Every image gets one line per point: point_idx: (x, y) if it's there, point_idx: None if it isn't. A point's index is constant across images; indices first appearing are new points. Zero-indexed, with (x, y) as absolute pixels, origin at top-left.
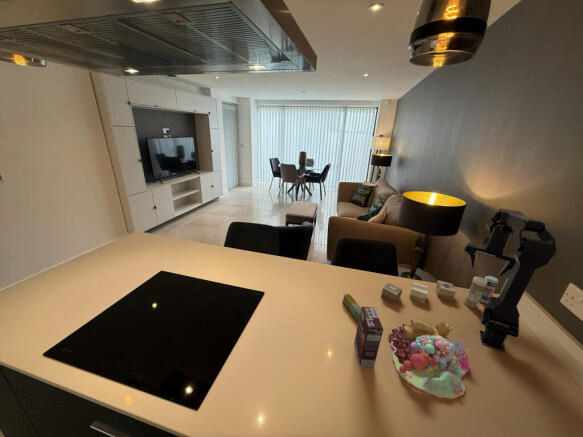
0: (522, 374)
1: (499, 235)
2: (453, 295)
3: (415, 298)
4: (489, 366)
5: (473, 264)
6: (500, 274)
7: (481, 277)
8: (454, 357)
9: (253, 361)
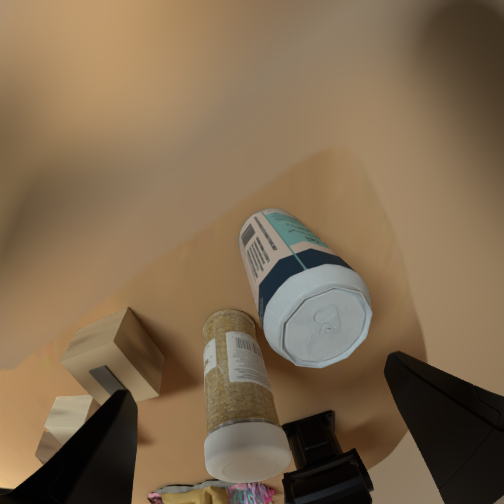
0: (353, 446)
1: None
2: (158, 378)
3: None
4: None
5: (130, 462)
6: (400, 402)
7: (248, 453)
8: None
9: None
